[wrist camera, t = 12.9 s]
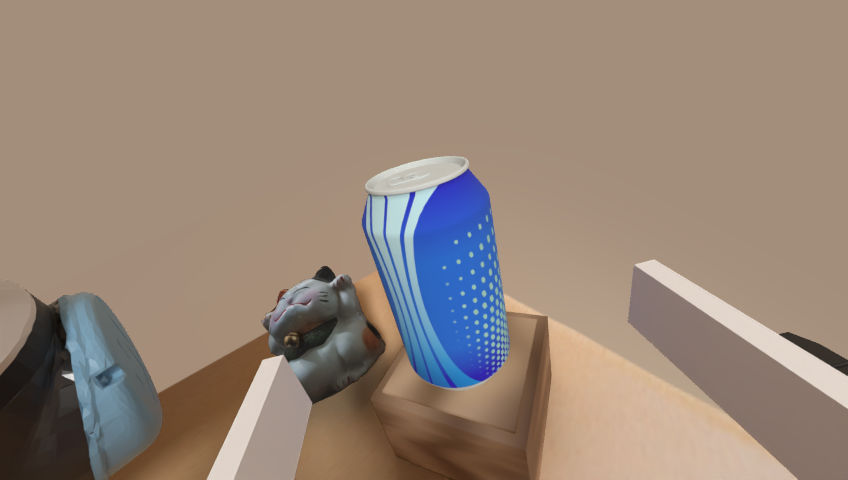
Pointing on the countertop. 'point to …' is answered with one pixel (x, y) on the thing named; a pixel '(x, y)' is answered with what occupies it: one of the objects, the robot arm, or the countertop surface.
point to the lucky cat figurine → (323, 334)
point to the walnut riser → (474, 412)
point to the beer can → (440, 269)
